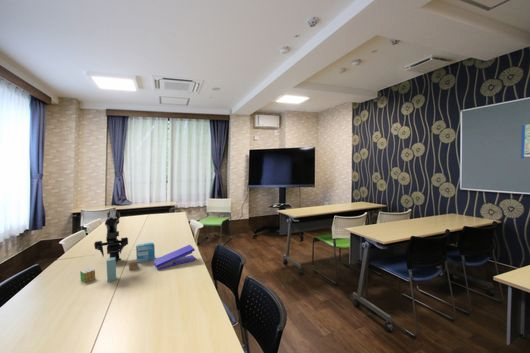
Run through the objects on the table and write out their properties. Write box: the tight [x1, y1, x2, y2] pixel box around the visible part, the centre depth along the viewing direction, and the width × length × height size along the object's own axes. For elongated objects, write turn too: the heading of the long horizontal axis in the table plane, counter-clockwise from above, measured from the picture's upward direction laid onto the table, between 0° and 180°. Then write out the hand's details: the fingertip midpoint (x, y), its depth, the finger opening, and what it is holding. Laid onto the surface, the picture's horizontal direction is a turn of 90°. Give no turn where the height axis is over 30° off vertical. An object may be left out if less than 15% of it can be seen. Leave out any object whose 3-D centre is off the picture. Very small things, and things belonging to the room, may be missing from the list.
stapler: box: [152, 244, 198, 271], centre depth 175 cm, size 12×28×10 cm, turn 126°
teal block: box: [106, 257, 117, 282], centre depth 150 cm, size 4×4×13 cm
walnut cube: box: [128, 258, 139, 271], centre depth 166 cm, size 5×5×5 cm
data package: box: [135, 242, 156, 263], centre depth 180 cm, size 12×4×12 cm, turn 120°
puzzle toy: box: [79, 267, 96, 283], centre depth 150 cm, size 6×6×6 cm
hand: (111, 254), depth 156 cm, fingers open, 9 cm apart
